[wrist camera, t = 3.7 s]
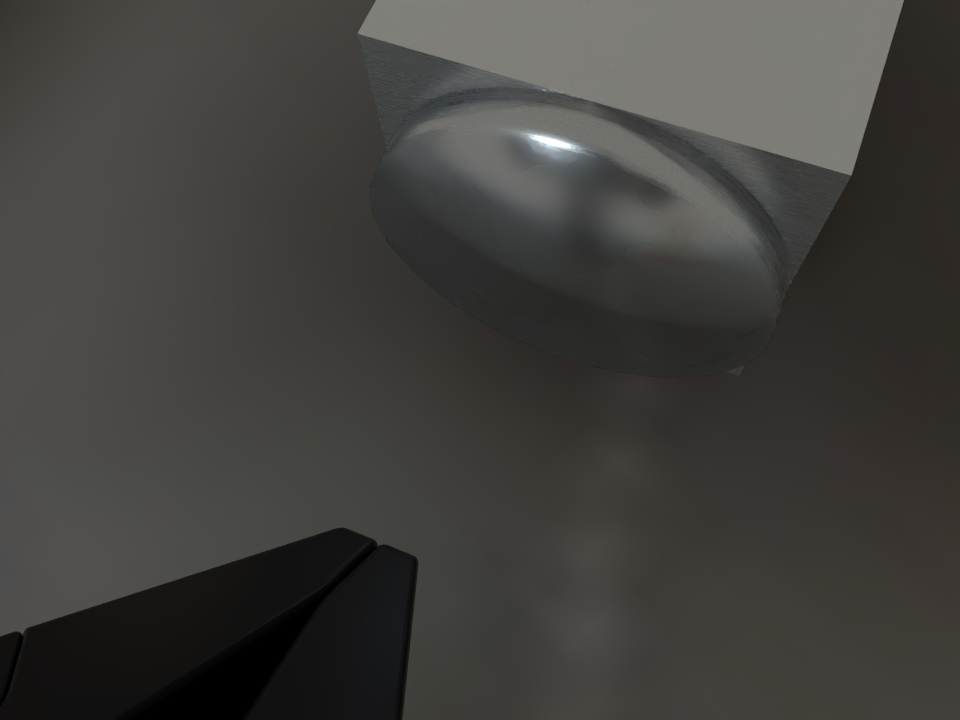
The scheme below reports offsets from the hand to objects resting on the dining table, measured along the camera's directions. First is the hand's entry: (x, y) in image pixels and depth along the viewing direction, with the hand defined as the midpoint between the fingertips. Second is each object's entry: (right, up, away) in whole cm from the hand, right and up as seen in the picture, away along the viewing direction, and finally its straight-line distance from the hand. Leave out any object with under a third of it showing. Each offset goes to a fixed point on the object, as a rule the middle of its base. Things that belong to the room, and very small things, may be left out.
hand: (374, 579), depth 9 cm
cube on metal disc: (+4, +6, +10) cm, 12 cm away
